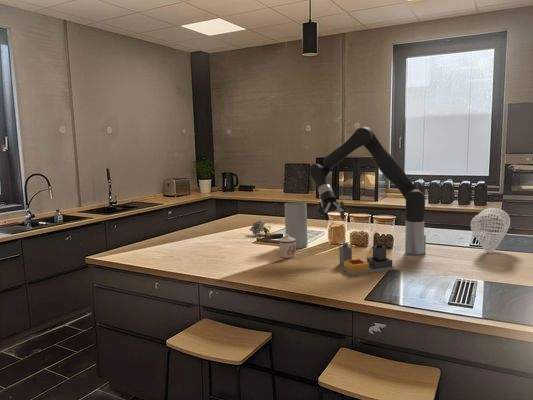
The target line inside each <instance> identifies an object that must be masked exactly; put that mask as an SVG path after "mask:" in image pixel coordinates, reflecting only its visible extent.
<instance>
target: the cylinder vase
mask: <svg viewBox="0 0 533 400" xmlns="http://www.w3.org/2000/svg"><path fill="white" fill-rule="evenodd" d="M284 228H285V229H284V230H285V235H286V234H288V235H289V236H290V237H292V238H295V240H296V247H295V250H301V249H305V248H307V247H308V245H309V244H308V243H309V242H308V210H307V203H306V202H302V201H294V202H293V201H292V202H291V201H290V202H286V203H284Z"/></svg>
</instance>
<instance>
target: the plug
mask: <svg viewBox="0 0 533 400" xmlns="http://www.w3.org/2000/svg"><path fill="white" fill-rule="evenodd" d="M352 249H353V248H352V247H351V246H350V245H349V242H347V241H346V242H342V245H340V246H339V249H338V250H339V251H338V252H339V253H338V254H339V255H338V256H339V265H340V266H342V267H344V260H352V259H353V258H352V257H353V254H352V252H353V251H352Z"/></svg>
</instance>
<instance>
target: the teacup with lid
mask: <svg viewBox="0 0 533 400" xmlns="http://www.w3.org/2000/svg"><path fill="white" fill-rule="evenodd" d="M278 247H279V249H278V252H279V253H278V255H279V257H280V258H282V259H283V258H284V259H291V258H295V257H296V255H297V254H296V249H295V247H296V240H295V238H292V237H290V236H289V235H288V234H286V233H285V234H284V236H283V237H281V238H278Z"/></svg>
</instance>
